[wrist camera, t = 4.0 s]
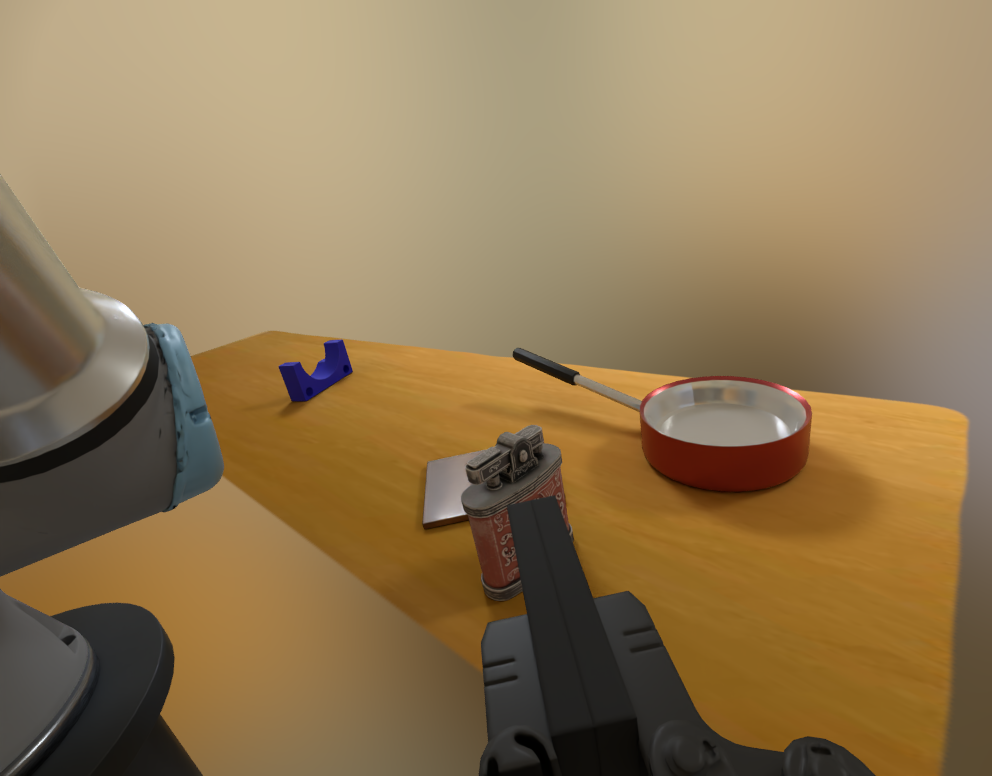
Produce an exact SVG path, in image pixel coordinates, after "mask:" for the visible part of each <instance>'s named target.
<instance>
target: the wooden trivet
mask: <svg viewBox="0 0 992 776" xmlns="http://www.w3.org/2000/svg"><path fill="white" fill-rule="evenodd" d="M542 444H544V442H543V443H542ZM484 451H486V450H482V451H477V452H472V453H468V454H463V455H458V456H453V457H448V458H444V459H439V460H434V461H429V462H428V463H427V475H426V488H425V500H424V512H423V527H424V529H428V528H432V527H437V526H442V525H447V524H451V523H456V522H461V521H466V520H469V517H468V515H467V514H466V513H465V512H464V509H463V505H462V502H461V494H462V493H463V492H464V490H466V489H467V488H468V487H469V486H470V485H471V483H470V482H468V478H467V474H466V469H465V465H466V464H467V462H468V461H470V460H471V459H473V458H474V457H476V456H478V455H479V454H481V453H483V452H484ZM564 496H565V494H564Z"/></svg>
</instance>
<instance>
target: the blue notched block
mask: <svg viewBox="0 0 992 776" xmlns="http://www.w3.org/2000/svg"><path fill="white" fill-rule="evenodd" d="M324 347H325V359H323V360H321V361H319V362H318V364H317V367H316V369H315V371H314V372H313V374H312V375H311V376H309V375H308V374H307V373H306V372H305V371H304V369H303V368H302V366H301V363H300V362H290V363H284V364H282V365H280V366H279V369H280V372H281V374H282V377H283V380H284V382H285V385H286V387H287V390H288V393H289V395H290V398H291V401H307V400H309V399H310V398H312V397H313V396H315V395H317V394H318V393H320V392H321V391H323V390H324V389H326V388H328V387H329V386H331V385H332V384H334V383H335V382H337V381H339V380H340V379H342V378H343V377H345V376H347V375H348V374H350V373H351V372H353V371H352V367H351V364H350V361H349V358H348V355H347V352H346V348H345V345H344V342H343V340H330V341H327V342H325V343H324Z"/></svg>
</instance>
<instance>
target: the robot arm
mask: <svg viewBox="0 0 992 776" xmlns="http://www.w3.org/2000/svg"><path fill="white" fill-rule="evenodd" d="M223 470H224V463H223V458H222V453H221V450H220V446H219V443H218V439H217V436H216V432H215V429H214V426H213V423H212V420H211V417H210V415H209V413H208V411H207V405H206V402H205V399H204V395H203V392H202V389H201V385H200V382H199V380H198V377H197V374H196V371H195V368H194V365H193V362H192V360H191V357H190V354H189V351H188V349H187V346H186V344H185V341H184V338H183V336H182V334H181V332H180V331H179V329H178V328H177V327H175V326H173V325H170V324H159V325H157V324H154V323H151V324H146V325H143V324H142V323H141V321H140V320H139V319H138V318H137V317H136V316H135V315H134V313H133V312H132V311H131V310H130V309H129V308H128V307H126V306H125V305H124V304H122V303H121V302H119V301H117V300H115V299H113V298H111V297H109V296H106V295H104V294H101V293H98V292H95V291H91V290H86V289H82V288H79V287H78V286H77V284H76V283H75V281H74V280H73V278H72V277H71V276H70V274H69V273H68V271H67V270H66V268H65V267H64V265H63V264H62V262H61V261H60V260H59V258H58V257H57V255H56V254H55V252H54V251H53V249H52V248H51V246H50V245H49V244H48V242H47V241H46V239H45V238H44V236H43V235H42V234H41V232H40V231H39V229H38V228H37V226H36V225H35V223H34V222H33V221H32V219H31V218H30V216H29V215H28V213H27V212H26V210H25V209H24V207H23V206H22V205H21V203H20V202H19V200H18V199H17V197H16V196H15V195H14V193H13V192H12V190H11V189H10V187H9V186H8V184H7V183H6V181H5V180H4V179H3V177H2V176H1V174H0V576H3V575H5V574H8V573H10V572H13V571H15V570H18V569H20V568H23V567H25V566H27V565H30V564H32V563H35V562H37V561H40V560H42V559H44V558H47V557H50V556H52V555H54V554H57V553H59V552H62V551H64V550H67V549H69V548H72V547H74V546H77V545H79V544H81V543H84V542H86V541H89V540H91V539H93V538H96V537H99V536H101V535H104V534H106V533H109V532H111V531H113V530H116V529H118V528H121V527H123V526H126V525H129V524H131V523H134V522H136V521H139V520H141V519H144V518H146V517H149V516H152V515H154V514H157V513H159V512H167V511H170V510H172V509H174V508H175V507H177V506H178V504H179V503H181V502H184V501H186V500H188V499H190V498H192V497H194V496H197V495H199V494H201V493H203V492H205V491H208V490H209V489H211V488H212V487H213V486H215V485H216V484H217V483H218V482H219V480H220V479H221V476H222V474H223ZM506 506H507V511H508V516H509V522H510V527H511V532H512V537H513V542H514V548H515V553H516V558H517V563H518V568H519V574H520V579H521V584H522V589H523V594H524V600H525V605H526V610H527V614H526V615H521V616H516V617H512V618H507V619H503V620H498V621H493V622H489V623H488V624H487V627H486V630H485V633H484V636H483V639H482V641H481V651H482V664H483V678H484V686H485V687H484V691H485V705H486V718H487V732H488V744H487V746H486V748H485V750H484V752H483V755H482V757H481V761H480V769H479V776H875V775H874V774H873V773H872V772H871V771H870V770H869V769H868V768H867V767H866V766H865V765H864V764H863V763H862V762H861V761H860V760H859V759H858V758H856V757H855V756H854V755H853V754H851V753H850V752H849V751H848V750H846V749H845V748H844V747H842V746H839V745H837V744H835V743H833V742H831V741H828V740H826V739H822V738H815V737H808V736H807V737H804V738H800V739H796V740H793V741H792V742H791V743H790V745H789V746H788V747H787V748H786V749H785V750H784V752H778V751H772V750H765V749H758V748H751V747H746V746H742V745H739V744H735V743H733V742H731V741H729V740H727V739H725V738H723V737H721V736H720V735H719V734H717V733H716V732H715V731H713V730H712V729H711V728H710V727H709V726H708V725H707V724H706V723H705V722H704V721H703V720H702V718H701V717H700V715H699V713H698V712H697V710H696V709H695V707H694V705H693V703H692V701H691V699H690V697H689V694H688V692H687V690H686V688H685V686H684V684H683V682H682V680H681V678H680V676H679V674H678V672H677V670H676V668H675V666H674V664H673V662H672V660H671V658H670V656H669V654H668V652H667V650H666V648H665V646H664V645H663V642H662V640H661V637H660V635H659V633H658V631H657V629H655V625H654V623H653V621H652V619H651V617H650V615H649V613H648V611H647V609H646V607H645V605H643V604H642V603H641V602H640V601H639V600H638V599H637V598H636V597H635V596H634V595H632V594H631V593H630V592H629V591H625V592H621V593H616V594H612V595H607V596H602V597H598V598H593V597H592V594H591V591H590V589H589V586H588V583H587V580H586V578H585V575H584V572H583V570H582V567H581V564H580V561H579V559H578V556H577V553H576V551H575V548H574V545H573V542H572V540H571V537H570V534H569V532H568V529H567V526H566V523H565V521H564V518H563V515H562V513H561V510H560V507H559V504H558V502H557V499H556V496H555V495H553V496H548V497H544V498H539V499H534V500H530V501H525V502H520V503H516V504H511V505H506ZM99 673H100V661H99V657H98V655H97V653H96V652H95V650H94V649H93V648H92V646H91V645H90V643H89V642H88V641H87V639H86V638H84V637H83V636H82V635H81V634H80V633H79V632H77V631H76V630H75V629H73V628H71V627H69V626H67V625H65V624H63V623H61V622H60V621H58V620H56V619H54V618H52V617H50V616H48V615H46V614H44V613H42V612H40V611H38V610H36V609H34V608H32V607H30V606H28V605H26V604H24V603H22V602H20V601H18V600H16V599H14V598H12V597H10V596H8V595H6V594H5V593H4V592H3V591H2V590H1V589H0V776H31V775H32V774H33V773H34V772H35V771H36V770H37V769H38V768H39V767H40V765H41V764H42V763H43V762H44V761H45V760H46V759H47V758H48V757H49V756H50V754H51V753H52V752H53V751H54V750H55V749H56V747H57V746H58V745H59V744H60V743H61V741H62V740H63V739H64V738H65V737H66V735H67V734H68V733H69V731H70V730H71V729H72V727H73V726H74V725H75V723H76V722H77V720H78V719H79V717H80V716H81V714H82V713H83V711H84V709H85V708H86V706H87V704H88V702H89V700H90V698H91V696H92V694H93V692H94V690H95V687H96V685H97V682H98V678H99Z"/></svg>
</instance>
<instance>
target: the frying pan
mask: <svg viewBox="0 0 992 776" xmlns="http://www.w3.org/2000/svg"><path fill="white" fill-rule="evenodd" d="M513 357H514V359H515V360H517V361H519V362H522V363H524V364H526V365H528V366H531V367H533V368H535V369H537V370H540V371H542V372H544V373H546V374H549V375H551V376H553V377H555V378H558V379H560V380H562V381H564V382H567V383H569V384H571V385H579V386H581V387H583V388H586V389H588V390H590V391H592V392H595V393H597V394H599V395H601V396H604V397H606V398H608V399H611V400H613V401H615V402H617V403H620V404H622V405H624V406H626V407H629V408H631V409H633V410H636V411H638V412H640V423H641V437H642V449H643V452H644V454H645V457H646V459H647V460H648V461H649V462H650V464H651V465H652V466H653V467H654V468H655V469H657V470H658V471H659V472H661V473H662V474H663V475H665V476H667V477H669V478H671V479H673V480H675V481H678V482H681V483H683V484H686V485H689V486H693V487H697V488H702V489H706V490H714V491H724V492H743V491H753V490H760V489H765V488H769V487H773V486H776V485H778V484H781V483H783V482H786V481H788V480H789V479H791V478H792V477H794V476H795V475H797V474H798V473H799V472H800V471H801V469H802V468H803V467H804V466H805V464H806V461H807V458H808V454H809V442H810V431H811V419H812V412H811V407H810V405H809V404H808V402H807V401H806V400H805V399H804V398H803V397H802V396H800V395H799V394H798V393H796V392H794V391H792V390H790V389H788V388H786V387H783V386H781V385H777V384H775V383H771V382H767V381H763V380H758V379H752V378H745V377H734V376H710V377H698V378H690V379H685V380H680V381H676V382H673V383H670V384H667V385H664V386H662V387H660V388H657V389H655V390H654V391H652V392H651V393H649V394H648V395H647V396H646V397H645V398H644V399H643V400H642V401H640V400H638V399H636V398H633V397H631V396H628V395H626V394H624V393H621V392H619V391H616V390H614V389H612V388H609V387H607V386H605V385H602V384H600V383H597V382H595V381H593V380H590V379H588V378H585V377H583V376H581V375H580V374H579V372H577V371H574V370H572V369H569V368H567V367H565V366H562V365H560V364H557V363H555V362H553V361H550V360H548V359H545V358H543V357H541V356H538V355H536V354H533V353H531V352H529V351H526V350H524V349H521V348H516V349H515V350H514V351H513Z"/></svg>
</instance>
